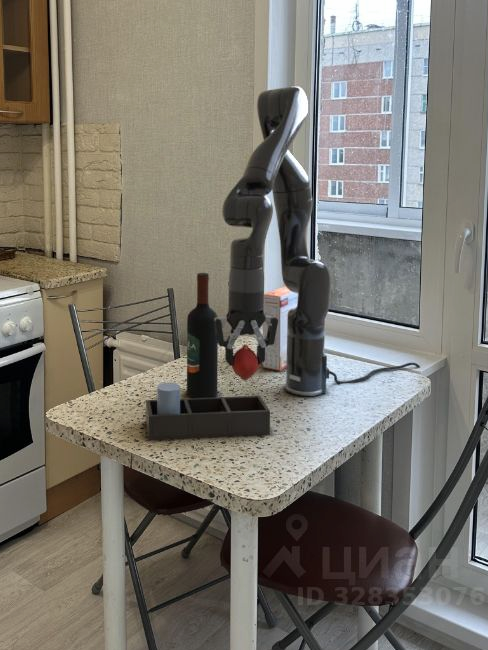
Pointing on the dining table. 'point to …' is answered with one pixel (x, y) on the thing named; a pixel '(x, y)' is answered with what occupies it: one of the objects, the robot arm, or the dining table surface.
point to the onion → (245, 362)
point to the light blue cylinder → (168, 398)
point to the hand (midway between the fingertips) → (245, 363)
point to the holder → (210, 418)
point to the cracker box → (278, 326)
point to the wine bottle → (202, 345)
